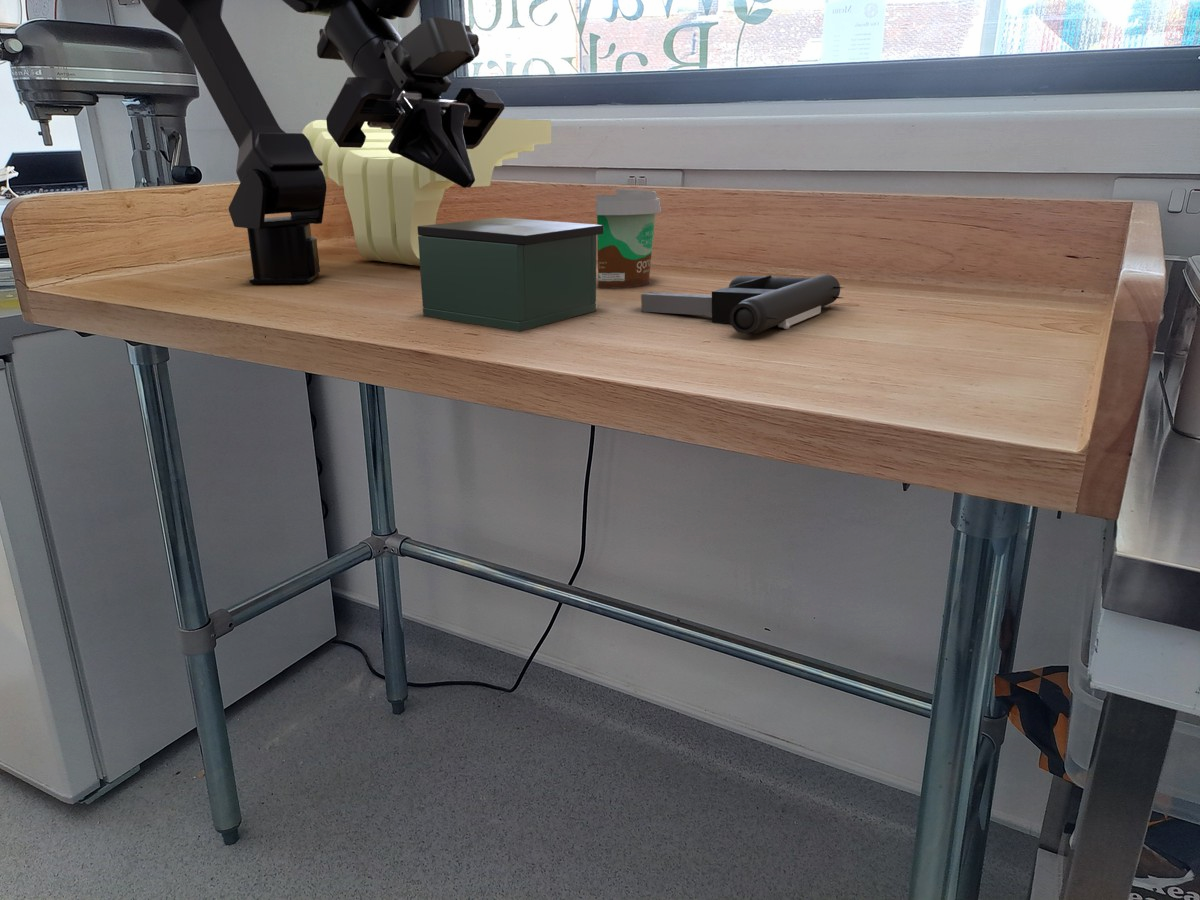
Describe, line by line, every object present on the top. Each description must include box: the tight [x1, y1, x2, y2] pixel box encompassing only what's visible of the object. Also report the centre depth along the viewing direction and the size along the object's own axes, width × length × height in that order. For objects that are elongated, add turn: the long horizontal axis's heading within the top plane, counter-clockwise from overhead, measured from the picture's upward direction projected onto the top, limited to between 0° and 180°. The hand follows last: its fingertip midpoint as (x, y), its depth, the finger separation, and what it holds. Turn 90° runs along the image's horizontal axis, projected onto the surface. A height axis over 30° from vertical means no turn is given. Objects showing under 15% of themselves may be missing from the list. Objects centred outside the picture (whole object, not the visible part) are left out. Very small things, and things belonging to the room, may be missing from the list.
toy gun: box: [640, 274, 844, 335], centre depth 81 cm, size 3×20×16 cm
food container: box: [595, 188, 662, 289], centre depth 97 cm, size 12×6×10 cm, turn 168°
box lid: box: [418, 217, 604, 245], centre depth 78 cm, size 12×12×1 cm
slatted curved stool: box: [301, 118, 552, 267], centre depth 113 cm, size 30×16×18 cm, turn 54°
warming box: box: [418, 235, 597, 332], centre depth 80 cm, size 12×12×7 cm
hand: (470, 184), depth 79 cm, fingers closed
